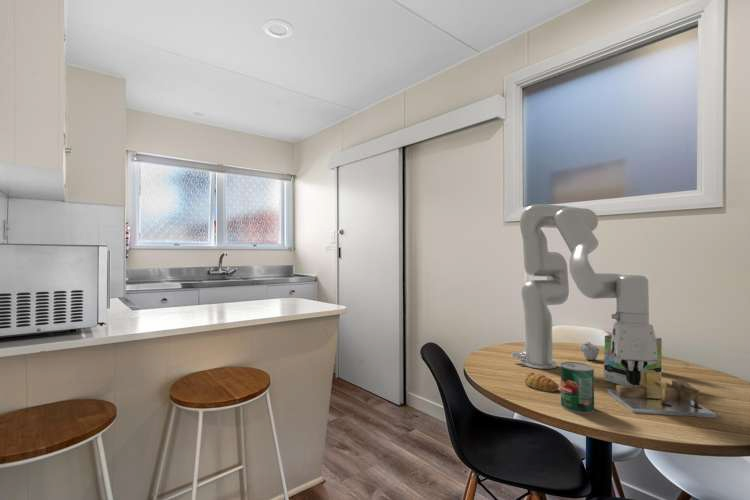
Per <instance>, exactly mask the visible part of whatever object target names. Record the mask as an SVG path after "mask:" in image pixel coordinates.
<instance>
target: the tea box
mask: <svg viewBox="0 0 750 500" xmlns="http://www.w3.org/2000/svg"><path fill="white" fill-rule="evenodd" d="M655 337H656V344H657V359H656V360H655V364H651V365H646V366H645V367H644V368H643V370H654V371H656V372H658V373H660V374H661V375H662V358H663V357H662V346H663V345H662V343H663V342H662V337H658V336H655ZM611 339H612V334H609V335H607V334H606V335H604V356H603V358H604V359H603V360H604V362H603V363H604V364H603V365H604V369H603V370H604V372H603V379H604V381H606V382H610V383H613V384H616V385H623V386H637V385H631V384H630V383H628V381H627V379H626V368H625V367H624V366H623V365H622V364H620V363H616V362H614V361H612V353H611ZM632 363H634V361H632Z"/></svg>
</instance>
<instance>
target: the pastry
mask: <svg viewBox="0 0 750 500" xmlns="http://www.w3.org/2000/svg"><path fill="white" fill-rule="evenodd" d="M524 379H525V380H524V383H525V385H526V386H527V387H528V388H530V387H531V388H533V389H535V390H539V391H542V392H543V391H544V392H552V393H554V392H556V391H558V390H559V387H560V385H558V383H557V382H555V380H552V378H550V377H547V376H546V375H543V374H540V373H535V372H528V374H527V375H526V377H525V378H524Z"/></svg>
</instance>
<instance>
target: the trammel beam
mask: <svg viewBox="0 0 750 500" xmlns="http://www.w3.org/2000/svg"><path fill="white" fill-rule="evenodd" d="M615 387H616V388H615V390H616V394H618V395H619V396H626V397H643V398H647V397H646V388H644V387H641V386H623V385H619V384H616V385H615ZM691 393H693V401H694V407H698V404H699V393H700V390H699V389H697V388H695V387H693V386H692V385H691V384H689V383H687V382H685V381H683V380H679V379H678V380H677V379H676V380H675V379H674V380H671V388H670V387H667V388H665V399H677V400H680V401H691V400H692V398H691V397H692V396H691Z"/></svg>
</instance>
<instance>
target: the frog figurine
mask: <svg viewBox="0 0 750 500" xmlns="http://www.w3.org/2000/svg"><path fill="white" fill-rule="evenodd" d="M579 349H580V351H581V352H582V353H583V356H584V358H585V359H587V360H588V361H594V360H596V359H597V358H598V356H599V354H600V353H599V352H600V348H599V347H598V346H596V345H594V344H593V343H591V342H590V341H583V342H582V343H580V344H579Z"/></svg>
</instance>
